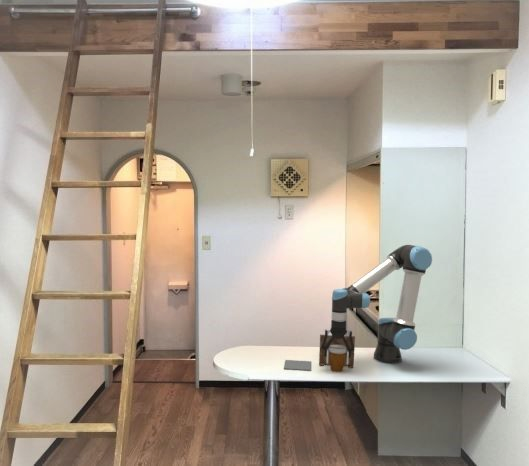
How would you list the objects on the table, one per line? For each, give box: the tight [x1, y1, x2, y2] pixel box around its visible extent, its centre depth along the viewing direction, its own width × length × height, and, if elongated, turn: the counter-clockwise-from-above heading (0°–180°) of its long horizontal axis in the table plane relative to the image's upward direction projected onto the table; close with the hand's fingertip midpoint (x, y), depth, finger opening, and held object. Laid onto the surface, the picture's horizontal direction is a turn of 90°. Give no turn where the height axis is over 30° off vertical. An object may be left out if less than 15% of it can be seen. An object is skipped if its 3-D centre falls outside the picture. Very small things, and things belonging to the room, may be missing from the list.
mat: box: [283, 359, 312, 372], centre depth 254 cm, size 14×14×1 cm
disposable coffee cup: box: [328, 345, 347, 373], centre depth 249 cm, size 10×10×12 cm
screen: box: [318, 334, 356, 369], centre depth 256 cm, size 18×5×16 cm, turn 84°
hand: (337, 363), depth 249 cm, fingers closed on disposable coffee cup, 9 cm apart
